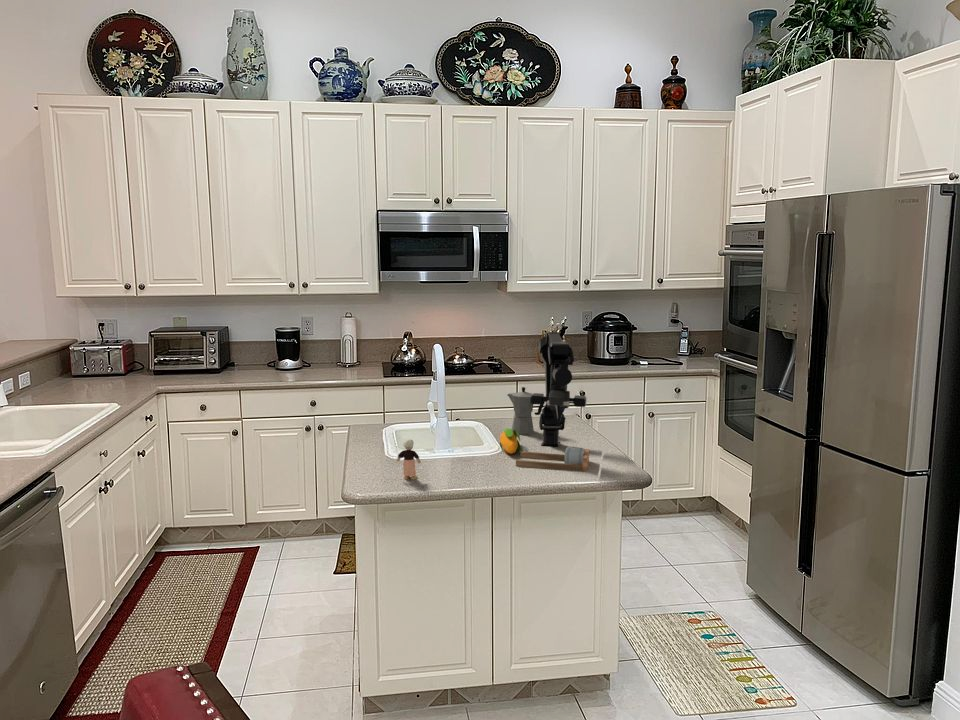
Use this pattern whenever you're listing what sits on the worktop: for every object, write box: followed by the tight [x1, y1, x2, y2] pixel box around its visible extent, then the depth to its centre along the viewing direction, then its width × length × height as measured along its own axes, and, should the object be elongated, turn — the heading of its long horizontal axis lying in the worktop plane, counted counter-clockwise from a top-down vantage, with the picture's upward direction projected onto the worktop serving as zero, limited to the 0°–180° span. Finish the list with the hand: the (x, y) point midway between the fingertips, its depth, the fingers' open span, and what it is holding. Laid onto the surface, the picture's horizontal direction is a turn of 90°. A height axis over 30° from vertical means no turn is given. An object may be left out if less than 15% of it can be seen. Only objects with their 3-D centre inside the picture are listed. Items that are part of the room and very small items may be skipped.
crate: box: [564, 446, 586, 465], centre depth 237 cm, size 6×6×5 cm
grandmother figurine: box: [396, 438, 421, 481], centre depth 224 cm, size 8×4×13 cm, turn 92°
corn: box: [499, 428, 522, 456], centre depth 254 cm, size 7×8×20 cm
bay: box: [515, 448, 590, 472], centre depth 239 cm, size 11×23×5 cm, turn 78°
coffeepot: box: [507, 386, 546, 436], centre depth 281 cm, size 15×9×18 cm, turn 70°
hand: (557, 424), depth 246 cm, fingers closed
